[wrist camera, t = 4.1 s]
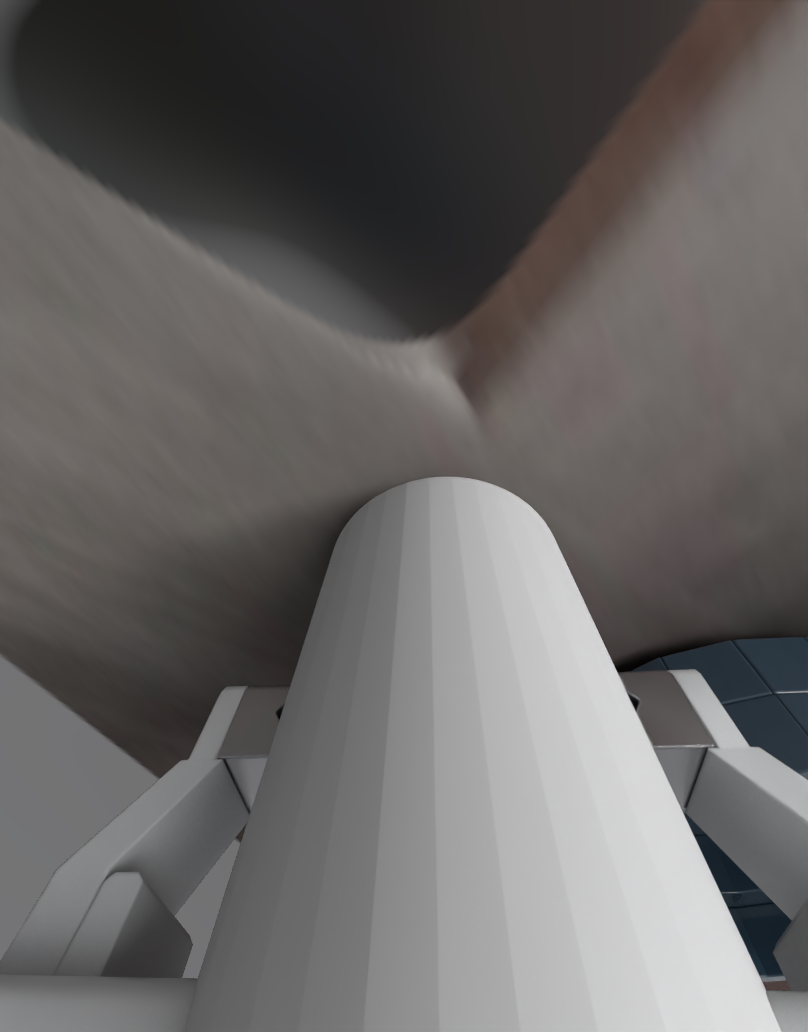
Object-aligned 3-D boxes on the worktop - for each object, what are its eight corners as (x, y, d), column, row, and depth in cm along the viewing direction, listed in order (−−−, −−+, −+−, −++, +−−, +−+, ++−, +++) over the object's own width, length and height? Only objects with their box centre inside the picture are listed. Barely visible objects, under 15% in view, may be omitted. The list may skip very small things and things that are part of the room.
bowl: (988, 614, 14) (1218, 760, 10) (832, 842, 20) (932, 985, 16) (542, 634, 15) (584, 771, 11) (529, 843, 21) (552, 977, 17)
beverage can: (291, 546, 13) (-187, 1562, 3) (470, 414, 11) (1055, 2464, 1) (424, 670, 16) (419, 1489, 5) (595, 579, 14) (1169, 1668, 3)
